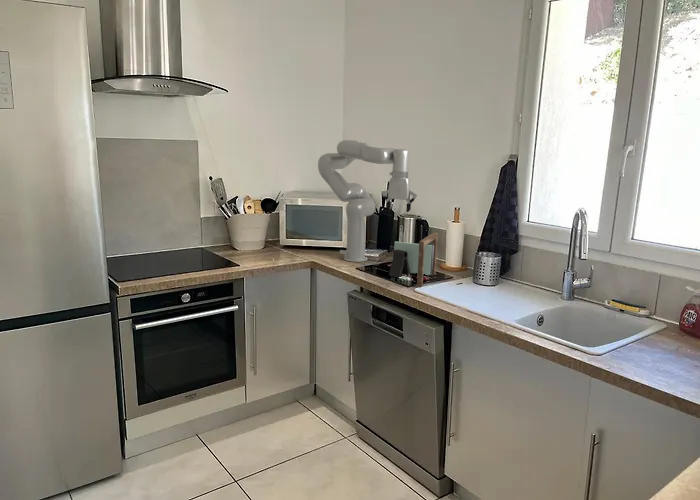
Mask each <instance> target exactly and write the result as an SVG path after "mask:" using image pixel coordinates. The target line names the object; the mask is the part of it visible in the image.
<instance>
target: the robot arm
mask: <svg viewBox="0 0 700 500" xmlns="http://www.w3.org/2000/svg"><path fill="white" fill-rule="evenodd" d="M355 160H360V161H363V162H366V163H367V162H368V163H371V164H377V165H391V164H392V171H391V172H389V176H391V177H390V178H389V183H388V188H387V190H384V191H382V192H381V194H382V197H383V199H384V200H385V202H386V209H387V210H386V211H391V210H392V201H391V200H401V201H402V200H405V201H406V202H407V203H406V213H409V212H410V211H411V210H412V209H411V207H412V203H413V202H414V201H416V199H417V196H418V195H417V194H416V193H415V192H413V191H412V190H411V183H410V178H409V163H410V162H409V161H410V151H409V149H407V148H406V149H404V148H392V147H376V146H369V144H368V143H365V142H362V141H361V142H359V141H358V140H354V139H353V140H352V139H350V140H349V139H346V140H345V139H344V140H341V141H339V142H338V143H337V145H336V152H327V153H324V154H322V155H320V157H319V158H318V161H317V170H318V173H319V175H320V176H321V177H322V179H323V180H324V181H325V183H326V184H327V185H328V186H329V187H330V189H331V190H332V191H333V193H334V194H335V195H336V197H337V198H338V200H340V201H341V202H343V203H346V202H347V204H346V206H345V212H346V213H345V214H346V221H347V223H346V225H347V226H346V228H347V229H346V230H347V232H346V249H345V250H344V249H340V250H339V254H340V255H344V256H343V260H344V261H347V262H350V263H351V262H352V263H360V262H361V263H362V262H367V261H369V260H368V258H367V257H368V256H366V234H367V233H366V232H367V230H366V226H367V224H366V221H365V218H366V217H370V216H372V215H373V214H374V213H375V212H376V203H375V201H374V199H373V198H372V197H371V196H370V195H369V193H368V192H367V191H366V189H365V188H364V187H363V186H362V185H361V184H359V183H356V182H348V181H347V180H346V178H344V176H343V175H342V174H341V173H339V172H338V171H337V170H343V169H345V168H346V167H348V166H350V164H352V163H353V162H354V161H355ZM411 196H412V198H410V197H411ZM365 256H366V257H365Z"/></svg>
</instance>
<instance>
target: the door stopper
mask: <svg viewBox="0 0 700 500" xmlns="http://www.w3.org/2000/svg"><path fill="white" fill-rule="evenodd" d="M407 256H408V253H407V251H402V250H397V249H396V250H393V257H392V261H391V265H390V268H389V272H388V276H389V275H390V276H389V277H391V276H395V277H398V278H397V279H400V278H399V277H401V275H402V274H406V275H409V274H410V275H411V273H410V269H409V263H408V258H407ZM395 277H394V278H395Z"/></svg>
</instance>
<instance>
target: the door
mask: <svg viewBox="0 0 700 500" xmlns="http://www.w3.org/2000/svg"><path fill="white" fill-rule="evenodd" d="M393 248H394V250H396V249H397V250H402V251H407V253H408V256H407V258H408V263H409V269H410V274H416V273H417V274H418V257H419V243H414V242H404V241H394V247H393ZM394 250H393V251H394ZM433 255H434V246H433V245H432V244H427V245H425V253H424V269H423V275H424V274H425V276H433V275H432V271H433Z"/></svg>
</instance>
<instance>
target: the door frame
mask: <svg viewBox="0 0 700 500" xmlns="http://www.w3.org/2000/svg"><path fill="white" fill-rule="evenodd" d="M438 241H439V232H435V231H434V232H431V234H429V235H427V236H425V237H424V238H423V239H421V240H420V241H419V242H418V244H419V257H418V274H417V275H416V276H417V277H416V279H417V280H416V287H418V288H422V287H423V286H424V285H423V282H424V274H423V269H424V253H425V245H429V244H430V243H431V245H433V246H434V255H433V271H432V274H435V273H436V274H437V272H436V271H437V256H438ZM436 274H435V275H436Z"/></svg>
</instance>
